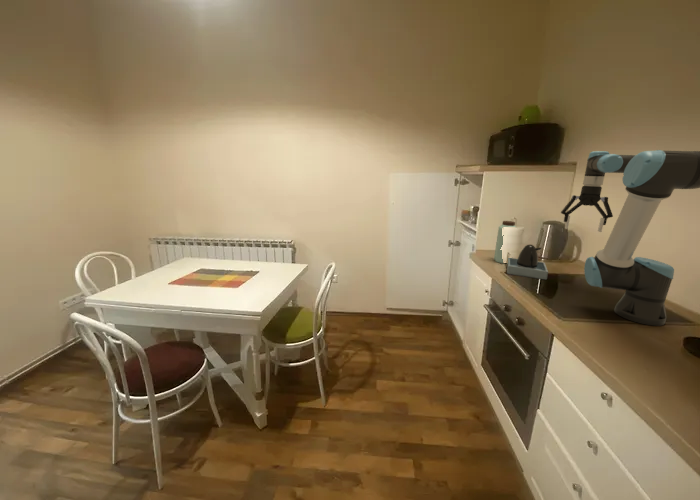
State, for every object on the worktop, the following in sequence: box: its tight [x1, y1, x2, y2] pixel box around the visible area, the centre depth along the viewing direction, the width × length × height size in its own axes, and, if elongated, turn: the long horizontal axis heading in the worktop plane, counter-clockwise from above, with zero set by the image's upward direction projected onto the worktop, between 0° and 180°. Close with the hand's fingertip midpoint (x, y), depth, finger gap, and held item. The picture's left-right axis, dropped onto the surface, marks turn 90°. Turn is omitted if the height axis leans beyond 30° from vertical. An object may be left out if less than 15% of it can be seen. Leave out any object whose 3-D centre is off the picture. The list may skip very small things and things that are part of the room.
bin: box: [506, 257, 549, 281], centre depth 174 cm, size 19×19×4 cm
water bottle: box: [493, 220, 517, 264], centre depth 190 cm, size 10×10×25 cm
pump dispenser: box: [517, 244, 542, 269], centre depth 173 cm, size 10×10×15 cm
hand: (582, 230), depth 152 cm, fingers open, 13 cm apart
